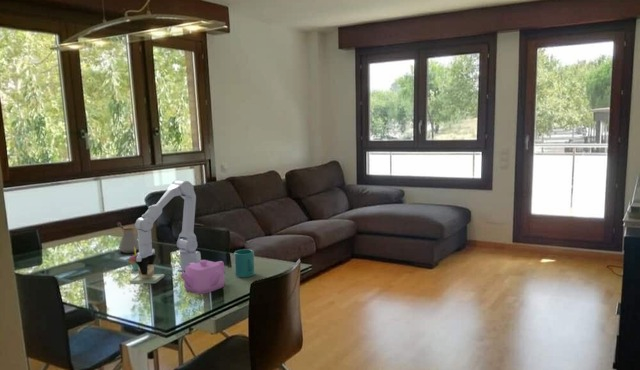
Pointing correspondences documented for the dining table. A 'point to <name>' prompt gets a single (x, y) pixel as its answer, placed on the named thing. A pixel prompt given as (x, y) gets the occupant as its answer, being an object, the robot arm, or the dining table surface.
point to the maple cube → (147, 272)
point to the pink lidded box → (204, 276)
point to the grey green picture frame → (148, 279)
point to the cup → (244, 263)
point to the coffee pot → (128, 240)
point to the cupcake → (134, 261)
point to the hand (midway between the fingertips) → (147, 272)
